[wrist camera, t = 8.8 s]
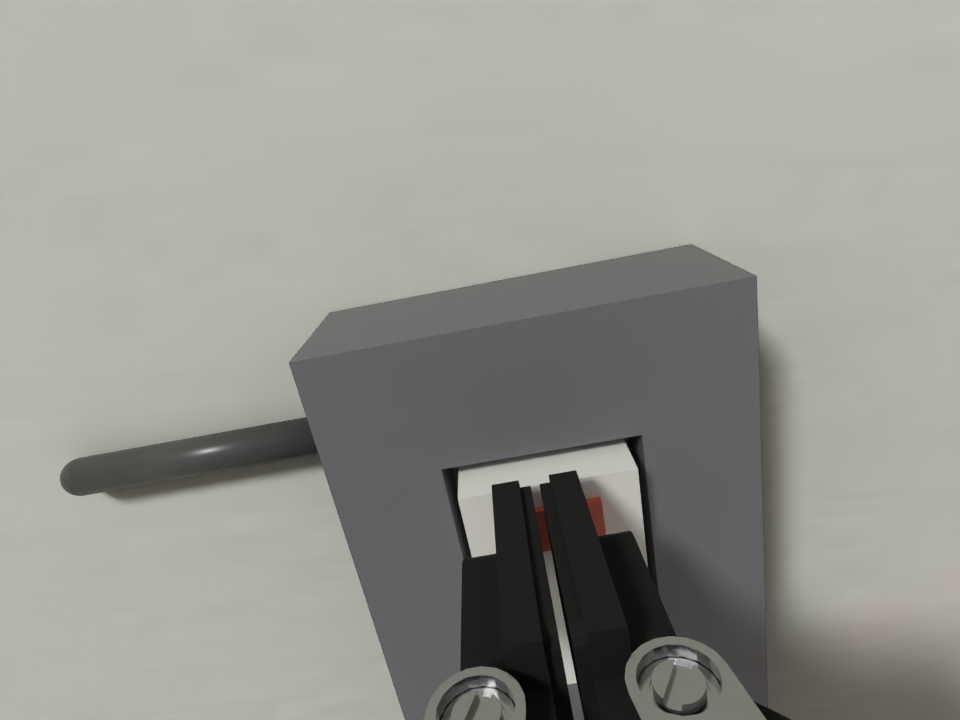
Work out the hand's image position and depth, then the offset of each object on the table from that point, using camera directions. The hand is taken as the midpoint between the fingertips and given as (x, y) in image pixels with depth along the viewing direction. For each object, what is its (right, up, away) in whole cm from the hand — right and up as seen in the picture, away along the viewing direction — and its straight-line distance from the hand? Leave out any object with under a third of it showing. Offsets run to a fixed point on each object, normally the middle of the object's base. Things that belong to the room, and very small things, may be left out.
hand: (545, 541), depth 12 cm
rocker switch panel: (-2, -6, +7) cm, 9 cm away
